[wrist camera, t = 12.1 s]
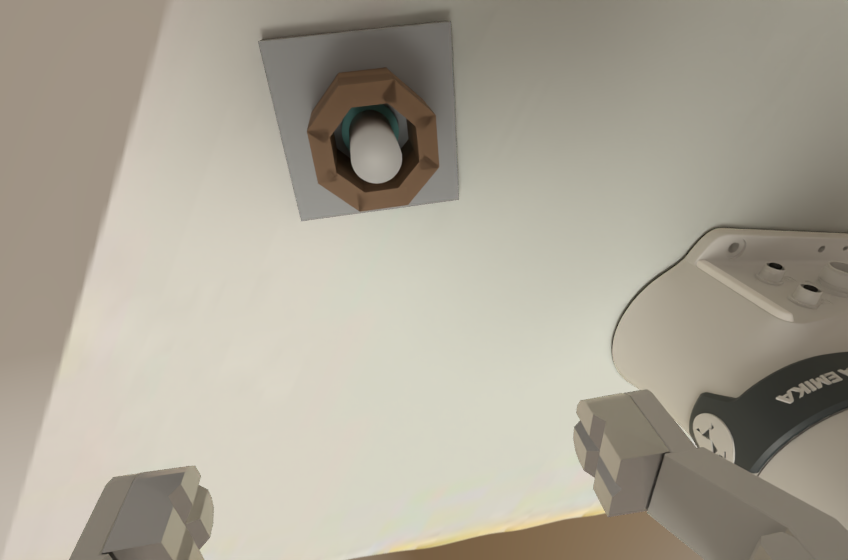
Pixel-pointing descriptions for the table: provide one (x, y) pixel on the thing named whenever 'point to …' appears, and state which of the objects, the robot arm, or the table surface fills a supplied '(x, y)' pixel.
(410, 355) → the table surface
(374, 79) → the ring
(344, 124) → the shaft stand
